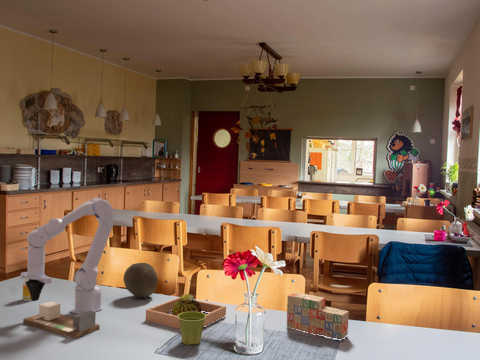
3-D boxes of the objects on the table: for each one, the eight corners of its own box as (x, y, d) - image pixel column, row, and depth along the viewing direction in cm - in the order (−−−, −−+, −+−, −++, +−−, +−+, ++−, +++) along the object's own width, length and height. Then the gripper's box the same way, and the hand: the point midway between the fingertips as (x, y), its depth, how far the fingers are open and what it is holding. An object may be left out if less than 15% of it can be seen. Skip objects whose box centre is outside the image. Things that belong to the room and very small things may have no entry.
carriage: (50, 314, 171) (51, 301, 171) (60, 316, 169) (60, 303, 169) (31, 320, 164) (31, 306, 164) (41, 323, 162) (41, 309, 162)
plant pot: (193, 349, 148) (194, 322, 148) (170, 342, 153) (171, 316, 153) (211, 340, 156) (211, 315, 156) (188, 334, 161) (189, 309, 161)
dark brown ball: (146, 291, 213) (147, 258, 213) (163, 298, 203) (164, 264, 202) (117, 296, 204) (118, 262, 203) (134, 304, 193) (135, 268, 193)
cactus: (155, 324, 171) (156, 298, 171) (172, 311, 186) (173, 287, 186) (200, 330, 167) (201, 303, 166) (214, 316, 182) (214, 291, 182)
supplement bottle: (31, 301, 192) (31, 278, 191) (19, 300, 193) (20, 277, 193) (39, 298, 197) (40, 275, 197) (28, 297, 198) (28, 274, 198)
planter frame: (179, 306, 192) (180, 296, 192) (225, 316, 181) (226, 306, 181) (145, 320, 174) (145, 309, 174) (194, 332, 163) (194, 321, 163)
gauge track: (49, 315, 176) (49, 297, 176) (99, 329, 163) (99, 310, 163) (23, 323, 167) (23, 304, 166) (74, 338, 154) (74, 318, 154)
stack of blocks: (348, 337, 164) (349, 302, 164) (340, 342, 159) (342, 306, 159) (294, 323, 177) (295, 291, 176) (286, 328, 171) (287, 294, 171)
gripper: (13, 262, 171) (12, 299, 172) (39, 267, 164) (38, 306, 165) (30, 259, 178) (29, 295, 178) (56, 264, 170) (55, 301, 171)
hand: (35, 300), depth 172 cm, fingers closed
